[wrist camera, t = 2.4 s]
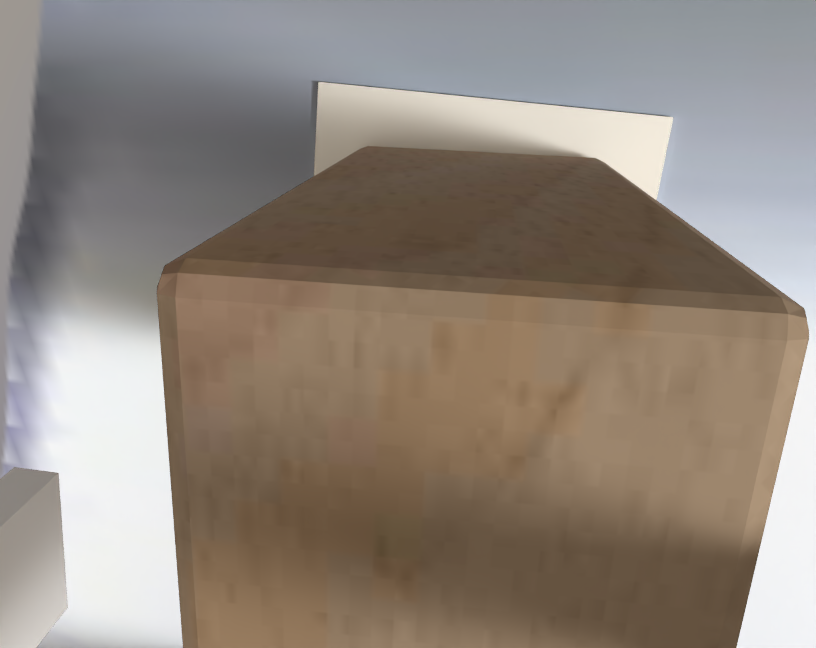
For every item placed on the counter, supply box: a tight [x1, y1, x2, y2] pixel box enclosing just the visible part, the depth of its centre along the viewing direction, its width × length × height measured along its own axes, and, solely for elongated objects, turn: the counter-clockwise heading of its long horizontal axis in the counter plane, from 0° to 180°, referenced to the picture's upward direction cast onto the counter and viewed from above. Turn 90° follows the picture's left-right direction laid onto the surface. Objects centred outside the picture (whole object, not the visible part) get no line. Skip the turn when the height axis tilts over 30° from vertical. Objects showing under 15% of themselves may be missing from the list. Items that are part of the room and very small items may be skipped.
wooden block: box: [157, 146, 809, 648], centre depth 22 cm, size 10×10×20 cm
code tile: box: [314, 82, 673, 200], centre depth 31 cm, size 14×14×1 cm
